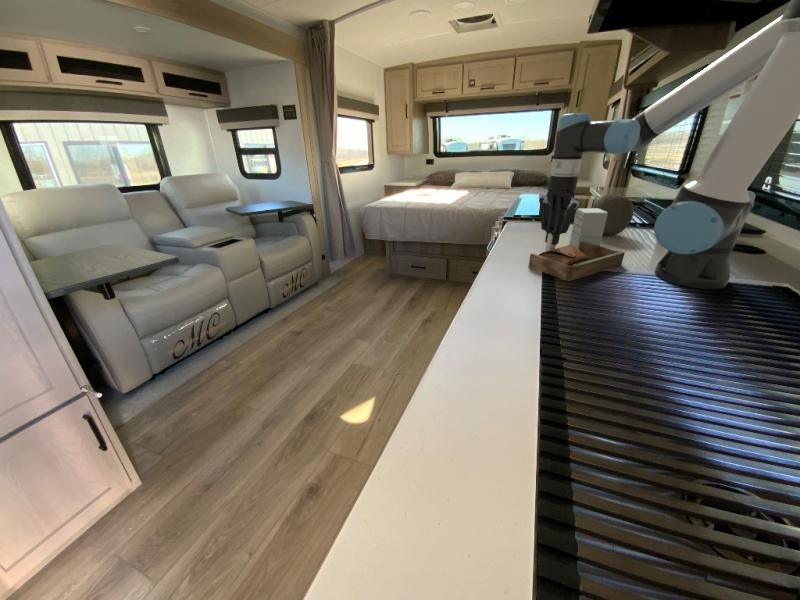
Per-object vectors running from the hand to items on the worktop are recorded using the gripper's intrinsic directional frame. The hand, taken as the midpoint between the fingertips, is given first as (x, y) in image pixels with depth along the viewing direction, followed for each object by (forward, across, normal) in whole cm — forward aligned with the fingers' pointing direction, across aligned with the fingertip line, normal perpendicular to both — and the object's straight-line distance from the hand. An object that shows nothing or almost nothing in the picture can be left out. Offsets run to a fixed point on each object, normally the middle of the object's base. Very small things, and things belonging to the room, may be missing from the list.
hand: (549, 253), depth 105 cm
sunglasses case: (+2, +5, +1) cm, 5 cm away
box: (+1, +9, 0) cm, 9 cm away
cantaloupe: (+1, -6, +40) cm, 40 cm away
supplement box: (+2, -1, +19) cm, 19 cm away
